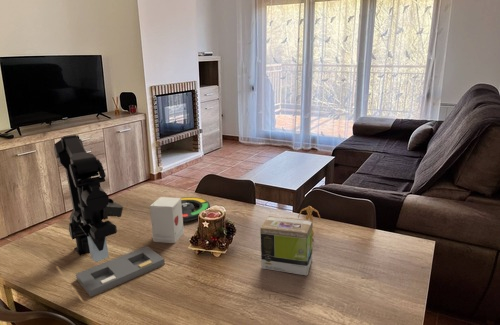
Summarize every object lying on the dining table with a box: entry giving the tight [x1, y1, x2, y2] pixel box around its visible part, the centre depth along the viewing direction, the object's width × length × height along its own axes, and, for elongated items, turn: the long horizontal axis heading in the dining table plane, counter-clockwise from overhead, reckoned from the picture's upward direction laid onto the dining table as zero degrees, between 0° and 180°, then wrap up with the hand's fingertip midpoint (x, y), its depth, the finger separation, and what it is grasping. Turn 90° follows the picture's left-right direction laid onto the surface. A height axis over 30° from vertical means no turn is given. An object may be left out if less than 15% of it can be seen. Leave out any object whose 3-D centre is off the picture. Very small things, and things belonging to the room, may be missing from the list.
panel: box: [75, 245, 166, 298], centre depth 115 cm, size 12×24×3 cm, turn 133°
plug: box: [87, 236, 110, 263], centre depth 108 cm, size 4×4×8 cm
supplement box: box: [149, 196, 185, 244], centre depth 135 cm, size 9×9×15 cm
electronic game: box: [180, 196, 211, 223], centre depth 159 cm, size 23×23×5 cm
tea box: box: [259, 215, 314, 277], centre depth 115 cm, size 15×10×15 cm, turn 71°
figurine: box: [297, 205, 321, 238], centre depth 134 cm, size 8×6×12 cm
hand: (98, 247), depth 108 cm, fingers closed on plug, 4 cm apart
